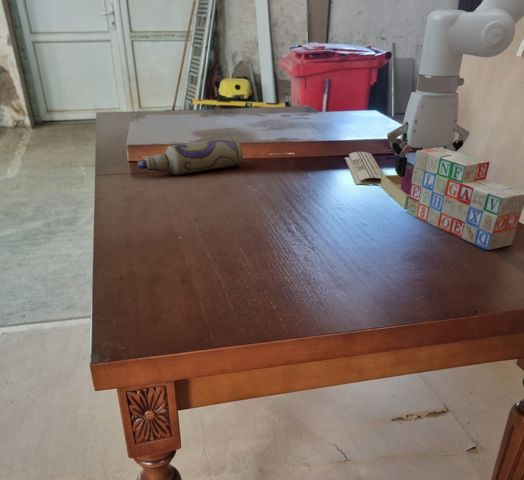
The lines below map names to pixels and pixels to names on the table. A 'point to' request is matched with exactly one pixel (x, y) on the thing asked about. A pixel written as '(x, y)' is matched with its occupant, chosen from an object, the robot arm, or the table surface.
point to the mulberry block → (407, 180)
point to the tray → (395, 189)
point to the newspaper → (364, 168)
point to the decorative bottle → (196, 157)
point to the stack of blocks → (463, 198)
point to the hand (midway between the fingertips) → (421, 174)
